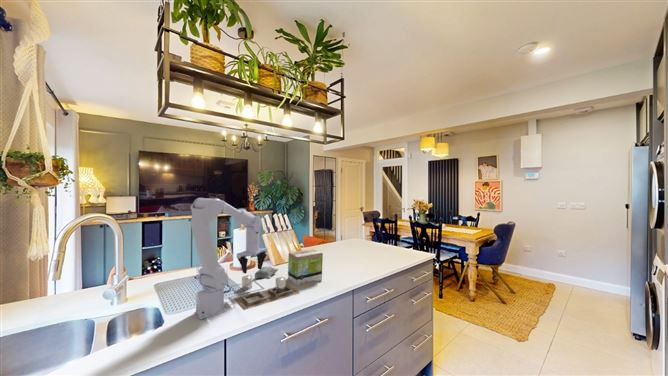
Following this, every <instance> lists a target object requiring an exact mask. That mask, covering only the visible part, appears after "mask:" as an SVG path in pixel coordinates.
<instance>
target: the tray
mask: <svg viewBox="0 0 668 376" xmlns="http://www.w3.org/2000/svg"><path fill="white" fill-rule="evenodd" d="M252 283H255V284H256V285H258V287H260V288H259V289H256V290H253V291H248V292H244V293H240V294H239V293H238V292H237V291H236V290H235V289H234V288H233V287H237V286H242V283H239V284H236V285H231V286H229V288H230V289H231V290H232V291H233V292H234V293H235V294H236V295H237V296H243V295H247V294H251V293H254V292H258V291H263V290H265V287H263V286H262V285H261V284H260V283H258V282H257V281H255V280H252Z"/></svg>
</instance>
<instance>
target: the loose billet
mask: <svg viewBox="0 0 668 376" xmlns="http://www.w3.org/2000/svg"><path fill="white" fill-rule="evenodd" d="M252 281H253V275H249V274H248V275H244V276H242V277H241V289H242V290H244V291H246V290H250V289H252V287H253V282H252Z"/></svg>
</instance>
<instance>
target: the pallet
mask: <svg viewBox="0 0 668 376" xmlns="http://www.w3.org/2000/svg"><path fill="white" fill-rule="evenodd" d="M298 294H300V291H298V290H296V289H295V288H293V287H292V286H290V285H289V284H286V292H282V293H278V294H277V293H276V286H274V287H271V288H267V289H264V290H258V291H254V292H250V293H246V294H242V295H240V297H236V298H235V297H234V298H233V300H234V301H235V303H237V305H238V306H240V308H241V309H242V310H243V311H244V310H245V311H246V310H249V309H252V308H255V307H259V306H262V305H264V304H267V303H268V304H269V303H271V302H276V301H277V300H283V299H285V298H290V297H291V296H296V295H298Z"/></svg>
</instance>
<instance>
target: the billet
mask: <svg viewBox="0 0 668 376" xmlns="http://www.w3.org/2000/svg"><path fill="white" fill-rule="evenodd" d="M286 283H287V278H286V277H284V276H278V277H276V278H275V287H276V293H277V294H278V293H282V292H286V285H287V284H286Z"/></svg>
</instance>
